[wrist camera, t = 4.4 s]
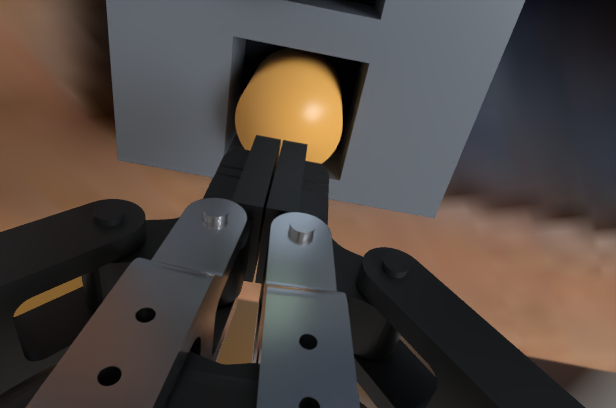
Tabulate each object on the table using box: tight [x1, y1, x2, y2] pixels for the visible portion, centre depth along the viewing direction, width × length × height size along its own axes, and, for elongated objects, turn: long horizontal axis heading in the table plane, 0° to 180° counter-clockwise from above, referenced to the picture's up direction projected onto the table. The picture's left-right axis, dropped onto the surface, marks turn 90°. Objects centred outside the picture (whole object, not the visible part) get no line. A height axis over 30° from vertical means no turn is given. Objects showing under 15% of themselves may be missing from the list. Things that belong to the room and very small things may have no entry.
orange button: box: [235, 48, 343, 164], centre depth 17 cm, size 4×4×4 cm
